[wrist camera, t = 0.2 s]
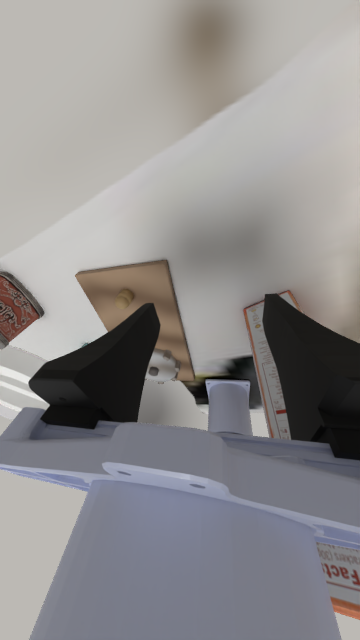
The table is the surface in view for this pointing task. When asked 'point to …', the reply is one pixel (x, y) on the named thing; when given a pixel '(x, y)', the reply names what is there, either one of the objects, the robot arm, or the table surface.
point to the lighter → (15, 308)
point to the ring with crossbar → (19, 379)
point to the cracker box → (337, 562)
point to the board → (130, 294)
